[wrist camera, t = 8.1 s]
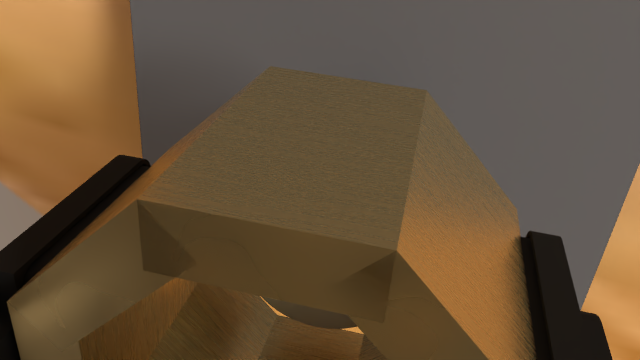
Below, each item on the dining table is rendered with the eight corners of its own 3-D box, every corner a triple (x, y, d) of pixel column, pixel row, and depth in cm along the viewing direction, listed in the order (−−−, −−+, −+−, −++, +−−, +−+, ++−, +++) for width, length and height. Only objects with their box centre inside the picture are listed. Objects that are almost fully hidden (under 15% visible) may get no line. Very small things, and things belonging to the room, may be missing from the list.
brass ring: (167, 49, 11) (-26, 167, 7) (545, 108, 10) (605, 291, 6) (180, 324, 14) (58, 517, 10) (463, 389, 13) (461, 636, 9)
